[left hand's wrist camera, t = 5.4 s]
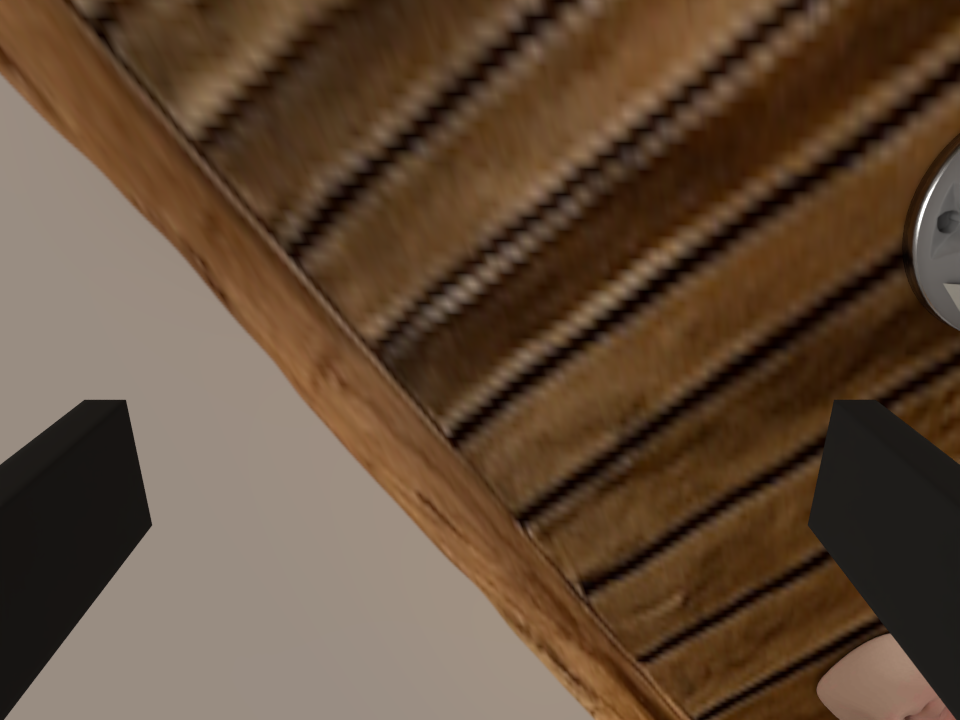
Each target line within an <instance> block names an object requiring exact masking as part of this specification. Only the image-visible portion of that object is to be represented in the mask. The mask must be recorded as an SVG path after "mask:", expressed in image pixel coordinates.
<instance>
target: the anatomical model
mask: <svg viewBox="0 0 960 720" xmlns="http://www.w3.org/2000/svg"><path fill="white" fill-rule="evenodd" d="M817 694H818V696H819V698H820V700H821V701H822V702H823V704H824V705H825V706H826V707H827V708H828V709H829V710H830V711H831V712H832V713H833V714H834V715H835V716H836V717H838V718H839V719H840V720H956V719H955V718H954V716H953V715H952V714H951V712H950V711H949V710H948V708H947V707H946V706H945V704H944V703H943V702H942V701H941V699H940V698H939V697H938V695H937V694H936V693H935V691H934V690H933V689H932V687H931V686H930V685H929V683H928V682H927V681H926V680H925V678H924V677H923V676H922V674H921V673H920V672H919V670H918V669H917V668H916V666H915V665H914V664H913V662H912V661H911V660H910V659H909V657H908V656H907V655H906V653H905V652H904V651H903V649H902V648H901V647H900V645H899V644H898V643H897V641H896V640H895V639H894V638H893V636H892V635H891V634H890V633H889V634H885V635H882V636H879V637H876V638H874V639H871V640H869V641H867V642H866V643H864V644H862V645H860V646H859V647H857V648H856V649H854V650H853V651H851V652H850V653H849V654H847V655H846V656H845V657H844V658H842V659H841V660H840V661H839V662H837V663H836V664H835V665H834V666H833V667H832V668H831V669H830V670H829V671H828V672H827V673H826V674H825V675H824V676H823V677H822V678H821V680H820V682H819V683H818V686H817Z"/></svg>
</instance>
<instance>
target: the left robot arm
mask: <svg viewBox="0 0 960 720" xmlns="http://www.w3.org/2000/svg"><path fill="white" fill-rule="evenodd" d="M902 250H903V262H904V267H905V272H906V275H907V278H908V281H909V284H910V286H911V288H912V290H913V292H914V294H915V295H916V297H917V299H918V300H919V301H920V303H921V304H922V305H923V306H924V307H925V308H926V309H927V310H928V311H929V312H930V313H931V314H932V315H933V316H934V317H936V318H937V319H938V320H940V321H942V322H943V323H945V324H947V325H949V326H951V327H953V328H955V329H957V330H959V331H960V133H959V134H958V135H957V136H956V137H955V138H954V139H953V140H952V141H951V142H950V143H949V144H948V145H947V146H946V147H945V148H944V149H943V151H942V152H941V153H940V154H939V155H938V156H937V158H936V159H935V160H934V162H933V163H932V164H931V166H930V167H929V169H928V170H927V172H926V174H925V175H924V177H923V178H922V180H921V182H920V184H919V186H918V188H917V190H916V192H915V194H914V197H913V199H912V201H911V204H910V207H909V210H908V213H907V217H906V221H905V226H904V233H903V249H902ZM151 526H152V522H151V517H150V513H149V508H148V503H147V498H146V493H145V489H144V484H143V479H142V474H141V470H140V465H139V460H138V455H137V451H136V446H135V441H134V436H133V432H132V427H131V422H130V417H129V413H128V408H127V403H126V400H84V401H82V402H81V403H80V404H79V405H77V406H76V407H75V408H73V409H72V410H71V411H70V412H68V413H67V414H66V415H64V416H63V417H62V418H60V419H59V420H58V421H57V422H55V423H54V424H53V425H51V426H50V427H49V428H47V429H46V430H45V431H44V432H42V433H41V434H40V435H38V436H37V437H36V438H34V439H33V440H32V441H31V442H29V443H28V444H27V445H25V446H24V447H23V448H21V449H20V450H19V451H18V452H16V453H15V454H14V455H12V456H11V457H10V458H8V459H7V460H6V461H5V462H3V463H2V464H1V465H0V720H4V719H5V718H6V716H7V715H8V714H9V712H10V711H11V710H12V708H13V707H14V706H15V704H16V703H17V702H18V701H19V699H20V698H21V696H22V695H23V694H24V693H25V691H26V690H27V689H28V687H29V686H30V685H31V683H32V682H33V681H34V679H35V678H36V677H37V676H38V674H39V673H40V672H41V670H42V669H43V668H44V666H45V665H46V664H47V662H48V661H49V660H50V659H51V657H52V656H53V655H54V653H55V652H56V651H57V649H58V648H59V647H60V645H61V644H62V643H63V641H64V640H65V639H66V638H67V636H68V635H69V634H70V632H71V631H72V630H73V628H74V627H75V626H76V624H77V623H78V622H79V620H80V619H81V618H82V617H83V615H84V614H85V613H86V611H87V610H88V609H89V607H90V606H91V605H92V603H93V602H94V601H95V599H96V598H97V597H98V596H99V594H100V593H101V592H102V590H103V589H104V588H105V586H106V585H107V584H108V582H109V581H110V580H111V579H112V577H113V576H114V575H115V573H116V572H117V571H118V569H119V568H120V567H121V565H122V564H123V563H124V561H125V560H126V559H127V558H128V556H129V555H130V554H131V552H132V551H133V550H134V548H135V547H136V546H137V544H138V543H139V542H140V540H141V539H142V538H143V537H144V535H145V534H146V533H147V531H148V530H149V529H150V527H151ZM808 526H809V527H810V529H811V530H812V531H813V533H814V534H815V535H816V537H817V538H818V539H819V540H820V542H821V543H822V544H823V546H824V547H825V548H826V550H827V551H828V552H829V554H830V555H831V556H832V558H833V559H834V560H835V561H836V563H837V564H838V565H839V567H840V568H841V569H842V571H843V572H844V573H845V575H846V576H847V577H848V579H849V580H850V581H851V582H852V584H853V585H854V586H855V588H856V589H857V590H858V592H859V593H860V594H861V596H862V597H863V598H864V600H865V601H866V602H867V603H868V605H869V606H870V607H871V609H872V610H873V611H874V613H875V614H876V615H877V617H878V618H879V619H880V620H881V622H882V623H883V624H884V626H885V627H886V628H887V630H888V631H889V632H890V634H891V635H892V636H893V638H894V639H895V640H896V641H897V643H898V644H899V645H900V647H901V648H902V649H903V651H904V652H905V653H906V655H907V656H908V657H909V659H910V660H911V661H912V662H913V664H914V665H915V666H916V668H917V669H918V670H919V672H920V673H921V674H922V676H923V677H924V678H925V680H926V681H927V682H928V683H929V685H930V686H931V687H932V689H933V690H934V691H935V693H936V694H937V695H938V697H939V698H940V699H941V701H942V702H943V703H944V704H945V706H946V707H947V708H948V710H949V711H950V712H951V714H952V715H953V716H954V718H955V719H956V720H960V465H959V464H958V463H957V462H955V461H954V460H953V459H952V458H950V457H949V456H948V455H946V454H945V453H944V452H942V451H941V450H940V449H939V448H937V447H936V446H935V445H933V444H932V443H931V442H929V441H928V440H927V439H926V438H924V437H923V436H922V435H920V434H919V433H918V432H916V431H915V430H914V429H913V428H911V427H910V426H909V425H907V424H906V423H905V422H903V421H902V420H901V419H900V418H898V417H897V416H896V415H894V414H893V413H892V412H891V411H889V410H888V409H887V408H885V407H884V406H883V405H881V404H880V403H879V402H878V401H876V400H834V403H833V408H832V412H831V417H830V422H829V427H828V432H827V436H826V441H825V446H824V451H823V455H822V460H821V465H820V470H819V474H818V479H817V484H816V489H815V493H814V498H813V503H812V508H811V513H810V517H809V522H808Z"/></svg>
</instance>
